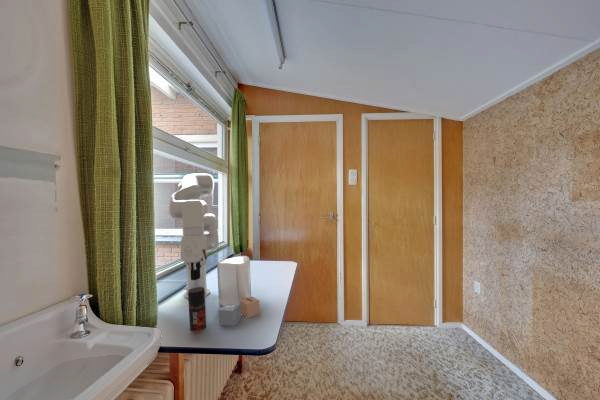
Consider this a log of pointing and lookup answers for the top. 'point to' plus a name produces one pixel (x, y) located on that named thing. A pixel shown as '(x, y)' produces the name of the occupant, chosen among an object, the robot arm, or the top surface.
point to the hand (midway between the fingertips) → (195, 279)
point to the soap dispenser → (234, 280)
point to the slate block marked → (229, 314)
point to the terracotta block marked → (249, 307)
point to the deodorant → (197, 309)
